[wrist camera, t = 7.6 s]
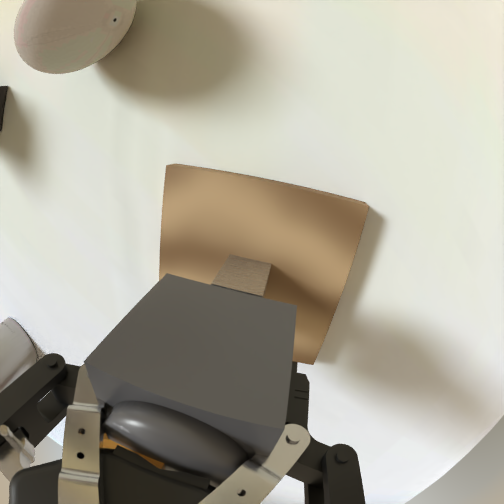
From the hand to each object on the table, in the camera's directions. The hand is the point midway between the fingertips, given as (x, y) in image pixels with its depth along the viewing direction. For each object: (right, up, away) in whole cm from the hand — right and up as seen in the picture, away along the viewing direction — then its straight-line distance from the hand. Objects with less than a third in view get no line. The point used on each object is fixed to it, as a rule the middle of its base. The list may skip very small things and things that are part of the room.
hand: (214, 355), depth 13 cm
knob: (0, 0, +1) cm, 1 cm away
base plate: (+2, +4, +9) cm, 10 cm away
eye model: (-11, +24, +3) cm, 27 cm away
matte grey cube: (+1, +3, +8) cm, 8 cm away
